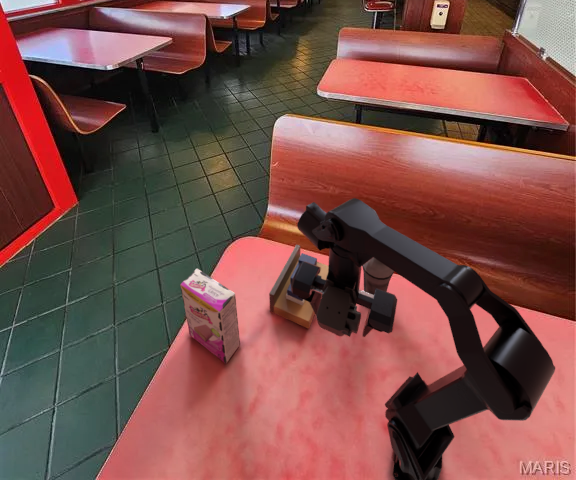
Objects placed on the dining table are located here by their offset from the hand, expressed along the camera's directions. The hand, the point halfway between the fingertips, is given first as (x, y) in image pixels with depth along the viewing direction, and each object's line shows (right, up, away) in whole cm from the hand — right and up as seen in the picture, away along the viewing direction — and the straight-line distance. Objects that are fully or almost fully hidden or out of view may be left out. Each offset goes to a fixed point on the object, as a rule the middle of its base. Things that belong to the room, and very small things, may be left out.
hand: (340, 324), depth 64 cm
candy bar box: (-26, -10, +9) cm, 30 cm away
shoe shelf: (-7, -5, +20) cm, 21 cm away
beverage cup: (+11, -6, +17) cm, 21 cm away
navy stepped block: (-7, -3, +18) cm, 20 cm away
